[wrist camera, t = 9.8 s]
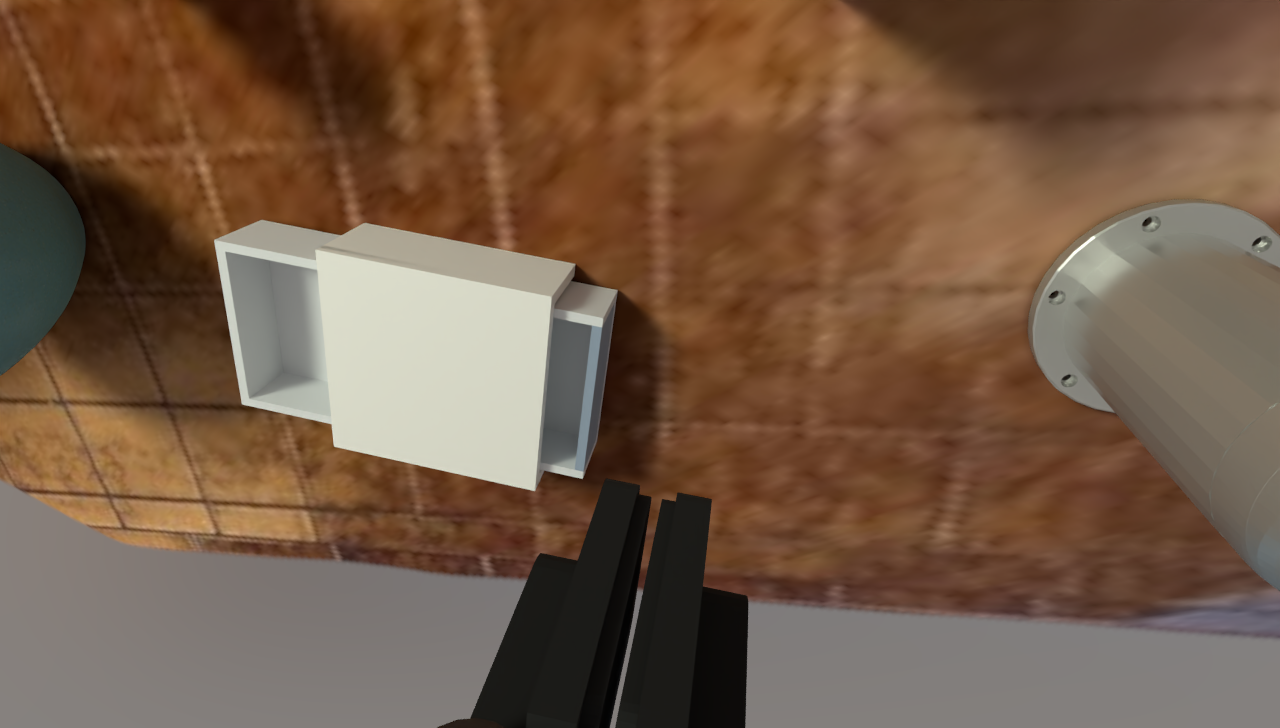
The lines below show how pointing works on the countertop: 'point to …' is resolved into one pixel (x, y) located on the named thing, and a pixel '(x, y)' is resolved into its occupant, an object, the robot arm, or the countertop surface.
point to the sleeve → (439, 350)
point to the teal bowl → (34, 254)
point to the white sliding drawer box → (295, 354)
